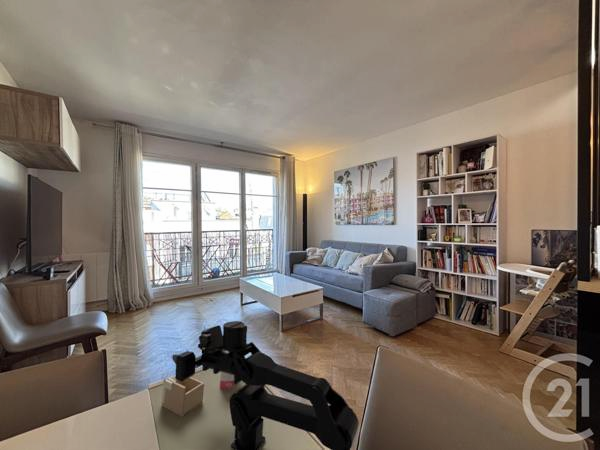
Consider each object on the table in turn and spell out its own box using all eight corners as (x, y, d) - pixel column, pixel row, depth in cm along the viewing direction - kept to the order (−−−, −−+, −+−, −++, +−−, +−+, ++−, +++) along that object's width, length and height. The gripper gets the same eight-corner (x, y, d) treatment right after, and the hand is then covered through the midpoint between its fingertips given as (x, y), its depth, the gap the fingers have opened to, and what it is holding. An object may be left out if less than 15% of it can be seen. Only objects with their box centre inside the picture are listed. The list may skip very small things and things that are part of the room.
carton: (202, 402, 78) (204, 383, 79) (184, 415, 72) (185, 394, 73) (183, 393, 82) (184, 374, 83) (164, 404, 76) (165, 384, 77)
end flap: (184, 414, 73) (187, 386, 73) (180, 417, 71) (182, 388, 72) (164, 403, 77) (167, 376, 77) (160, 406, 75) (162, 379, 76)
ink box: (233, 389, 86) (235, 354, 87) (218, 388, 86) (221, 353, 87) (238, 375, 95) (240, 343, 96) (225, 375, 95) (227, 343, 95)
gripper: (246, 321, 79) (210, 316, 85) (199, 341, 62) (158, 332, 69) (246, 358, 78) (209, 350, 84) (198, 388, 61) (156, 375, 68)
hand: (186, 350), depth 76 cm, fingers open, 9 cm apart
